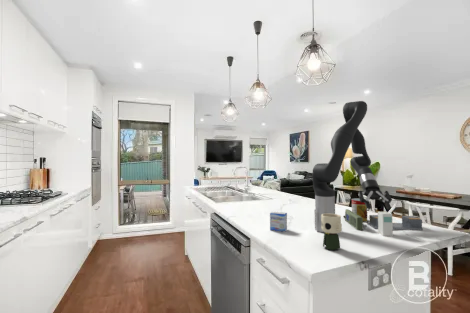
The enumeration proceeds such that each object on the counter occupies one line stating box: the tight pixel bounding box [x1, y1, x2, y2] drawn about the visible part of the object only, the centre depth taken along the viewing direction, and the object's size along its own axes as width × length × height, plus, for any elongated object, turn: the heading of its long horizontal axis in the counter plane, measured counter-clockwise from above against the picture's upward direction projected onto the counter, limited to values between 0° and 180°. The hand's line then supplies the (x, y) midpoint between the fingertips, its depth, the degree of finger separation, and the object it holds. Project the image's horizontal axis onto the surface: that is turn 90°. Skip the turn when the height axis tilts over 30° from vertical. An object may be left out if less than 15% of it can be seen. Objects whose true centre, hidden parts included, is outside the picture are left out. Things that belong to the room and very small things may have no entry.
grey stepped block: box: [366, 214, 424, 231], centre depth 121 cm, size 22×9×5 cm, turn 81°
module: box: [377, 211, 394, 237], centre depth 109 cm, size 4×5×10 cm
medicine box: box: [269, 211, 288, 232], centre depth 118 cm, size 8×4×9 cm, turn 68°
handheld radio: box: [342, 208, 364, 231], centre depth 128 cm, size 7×3×25 cm
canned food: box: [351, 197, 368, 223], centre depth 136 cm, size 8×8×12 cm
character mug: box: [321, 213, 343, 251], centre depth 92 cm, size 11×7×13 cm, turn 18°
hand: (379, 208), depth 115 cm, fingers open, 8 cm apart
